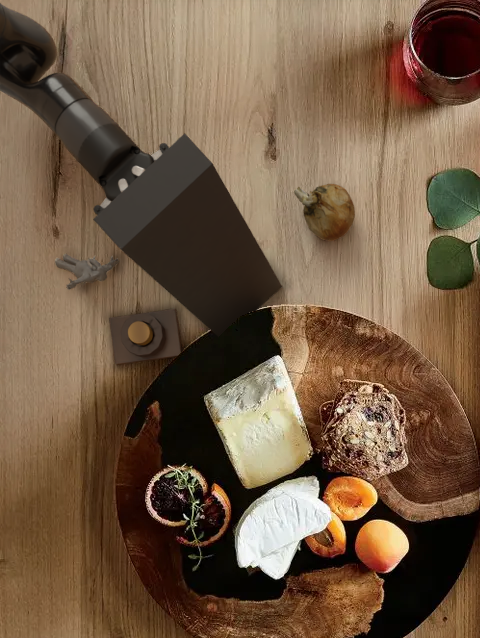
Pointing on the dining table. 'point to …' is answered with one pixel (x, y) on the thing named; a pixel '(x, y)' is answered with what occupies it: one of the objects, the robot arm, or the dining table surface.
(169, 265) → the dark brown rectangular box
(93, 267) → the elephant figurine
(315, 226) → the onion
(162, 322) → the control block
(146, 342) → the button
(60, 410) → the dining table surface
